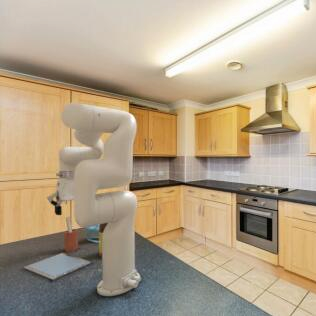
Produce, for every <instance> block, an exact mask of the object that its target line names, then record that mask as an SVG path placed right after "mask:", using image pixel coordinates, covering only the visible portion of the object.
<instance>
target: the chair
mask: <svg viewBox="0 0 316 316" xmlns="http://www.w3.org/2000/svg"><path fill="white" fill-rule="evenodd" d="M99 226H100V224H99V225H95V226H91V227H85V231H86V233H87V235H86V236H87V237H86V240H87V241H88V242H92V243H95V244H99V240H95V239H99V236H96V235H97V233H98V232H99ZM92 232H93V233H92ZM91 233H92V235H91Z"/></svg>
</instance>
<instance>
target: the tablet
mask: <svg viewBox="0 0 316 316" xmlns="http://www.w3.org/2000/svg"><path fill="white" fill-rule="evenodd" d="M91 264H92V261H90V260H87V259H83V258H81V257H78V256H75V255H71V254H68V253H65V252H61V253H58V254H56V255H53V256H50V257H48V258H44V259H41V260H39V261H37V262H34V263H31V264H28V265H26V266H23V267H22V268H23V269H25V270H27V271H29V272H32V273H34V274H36V275H39V276H41V277H44V278H46V279H48V280H49V281H51V282H54V281H56V280H59V279H61V278H63V277H66V276H68V275H70V274H72V273H74V272H77V271H78V270H80V269H81V270H82V269H83V268H85V267H88V266H89V265H91Z"/></svg>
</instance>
